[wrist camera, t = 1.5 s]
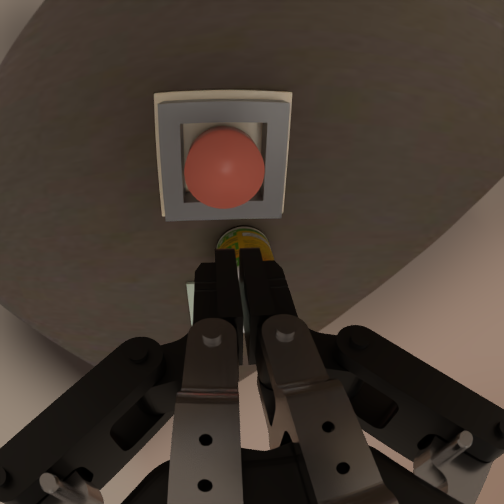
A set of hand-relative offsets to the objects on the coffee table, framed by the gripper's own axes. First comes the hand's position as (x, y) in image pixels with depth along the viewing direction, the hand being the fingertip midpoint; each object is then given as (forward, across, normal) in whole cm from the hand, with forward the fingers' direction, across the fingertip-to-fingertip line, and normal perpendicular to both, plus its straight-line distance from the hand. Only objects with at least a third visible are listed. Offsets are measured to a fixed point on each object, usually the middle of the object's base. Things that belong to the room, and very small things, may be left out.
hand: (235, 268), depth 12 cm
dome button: (+14, 0, 0) cm, 14 cm away
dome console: (+17, 0, 0) cm, 17 cm away
